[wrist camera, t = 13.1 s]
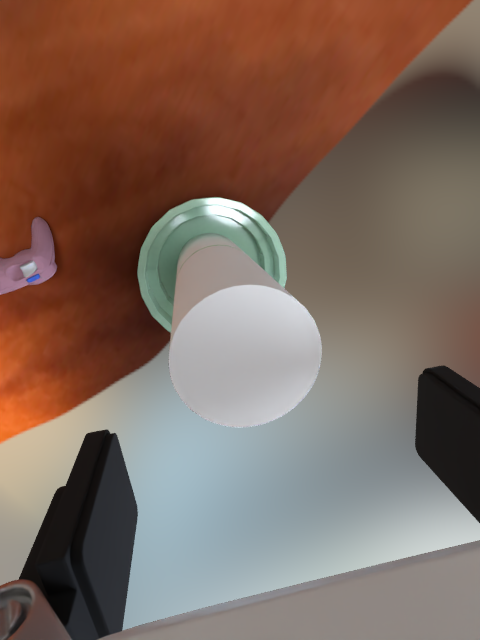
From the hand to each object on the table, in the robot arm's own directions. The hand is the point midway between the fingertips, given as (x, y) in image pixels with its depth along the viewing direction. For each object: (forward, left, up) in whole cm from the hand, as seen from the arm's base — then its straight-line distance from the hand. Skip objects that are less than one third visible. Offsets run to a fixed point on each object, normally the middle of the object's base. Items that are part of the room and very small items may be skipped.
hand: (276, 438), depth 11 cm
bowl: (0, 0, -32) cm, 32 cm away
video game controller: (-20, -3, -32) cm, 38 cm away
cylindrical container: (0, 0, -31) cm, 31 cm away
